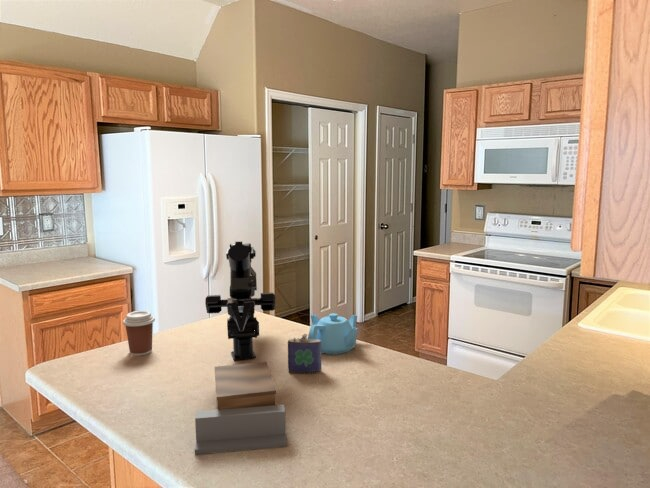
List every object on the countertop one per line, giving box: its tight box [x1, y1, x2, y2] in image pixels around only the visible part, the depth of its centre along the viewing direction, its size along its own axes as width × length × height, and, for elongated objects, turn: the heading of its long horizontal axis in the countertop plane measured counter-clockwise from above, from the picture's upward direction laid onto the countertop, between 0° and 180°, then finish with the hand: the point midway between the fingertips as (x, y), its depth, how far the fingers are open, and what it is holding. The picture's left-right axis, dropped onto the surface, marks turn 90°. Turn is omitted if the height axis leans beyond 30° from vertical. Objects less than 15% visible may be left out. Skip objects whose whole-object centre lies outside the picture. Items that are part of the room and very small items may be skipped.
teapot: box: [307, 312, 359, 355], centre depth 156 cm, size 15×15×11 cm
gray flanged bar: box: [194, 404, 288, 455], centre depth 102 cm, size 6×18×6 cm, turn 99°
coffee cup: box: [122, 310, 156, 357], centre depth 153 cm, size 9×9×12 cm
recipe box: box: [214, 361, 277, 410], centre depth 113 cm, size 16×12×9 cm
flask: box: [287, 333, 322, 375], centre depth 137 cm, size 9×3×11 cm, turn 87°
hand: (241, 330), depth 133 cm, fingers closed
